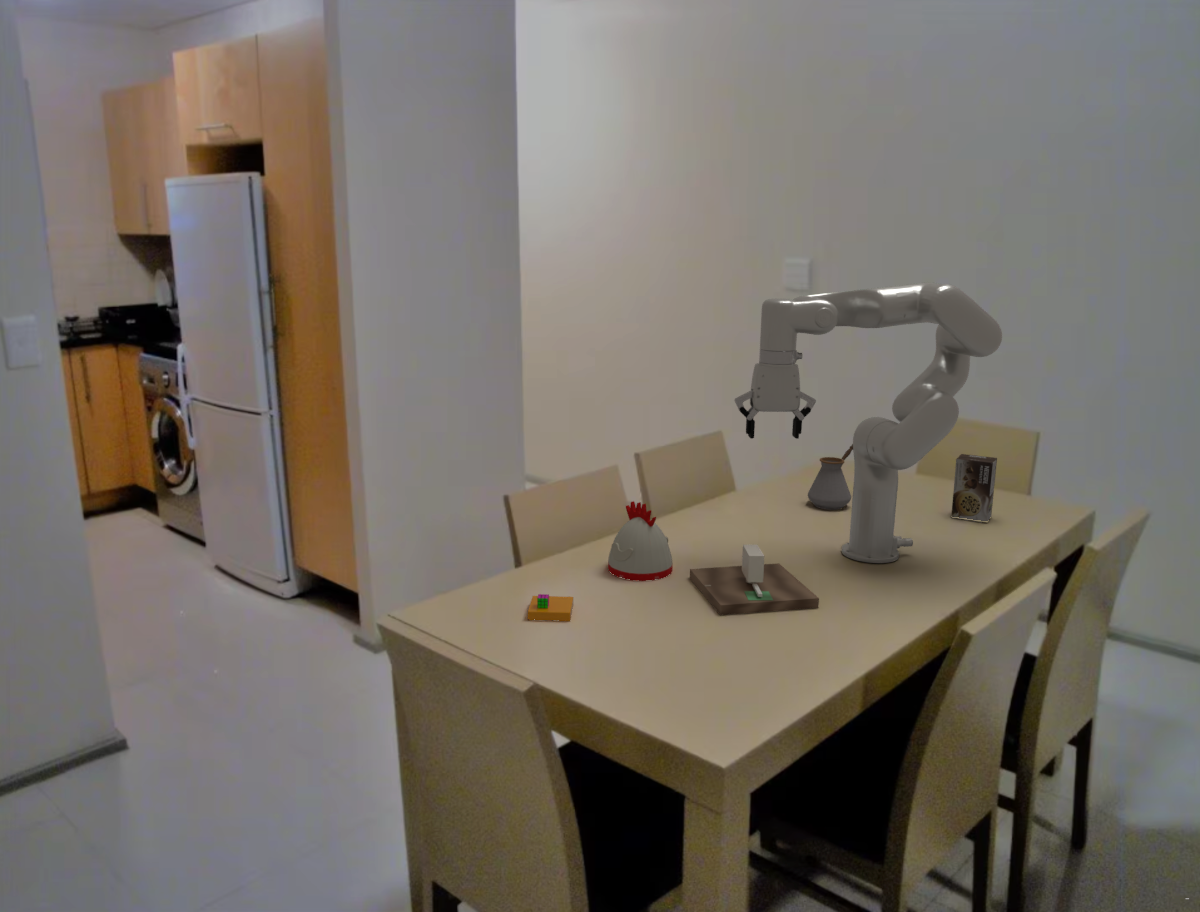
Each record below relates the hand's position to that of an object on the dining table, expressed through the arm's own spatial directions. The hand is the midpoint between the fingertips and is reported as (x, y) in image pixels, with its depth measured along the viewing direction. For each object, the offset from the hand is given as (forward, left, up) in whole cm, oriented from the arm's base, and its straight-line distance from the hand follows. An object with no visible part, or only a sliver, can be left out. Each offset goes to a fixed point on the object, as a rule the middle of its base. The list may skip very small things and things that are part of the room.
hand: (773, 437), depth 197 cm
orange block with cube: (+52, +20, -29) cm, 62 cm away
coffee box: (-65, -22, -28) cm, 74 cm away
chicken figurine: (+29, 0, -29) cm, 41 cm away
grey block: (+10, +19, -26) cm, 34 cm away
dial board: (+10, +17, -28) cm, 34 cm away
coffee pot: (-37, -42, -28) cm, 63 cm away
